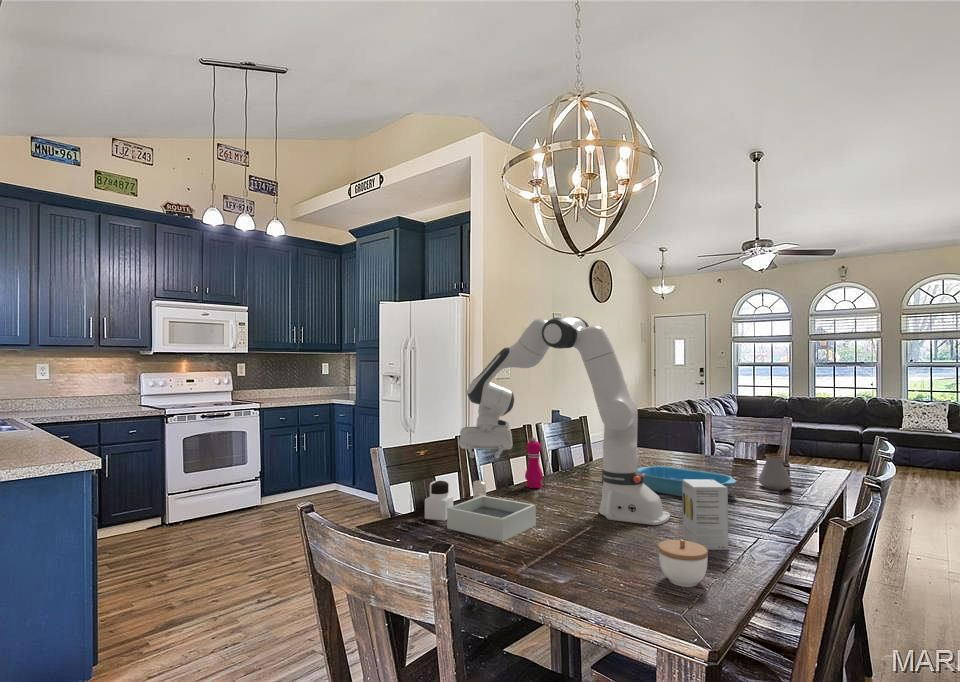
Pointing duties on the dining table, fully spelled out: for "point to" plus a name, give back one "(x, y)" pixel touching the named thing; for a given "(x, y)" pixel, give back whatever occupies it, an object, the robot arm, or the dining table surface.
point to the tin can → (479, 488)
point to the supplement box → (705, 513)
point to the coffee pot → (774, 472)
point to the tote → (491, 518)
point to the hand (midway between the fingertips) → (484, 457)
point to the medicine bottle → (438, 501)
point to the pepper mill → (533, 465)
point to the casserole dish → (677, 478)
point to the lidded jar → (683, 562)
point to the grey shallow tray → (492, 512)
